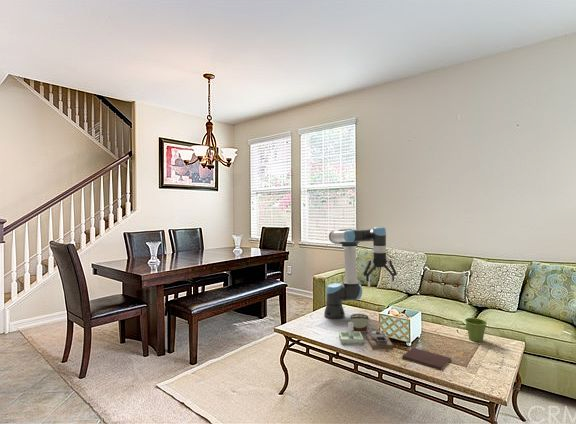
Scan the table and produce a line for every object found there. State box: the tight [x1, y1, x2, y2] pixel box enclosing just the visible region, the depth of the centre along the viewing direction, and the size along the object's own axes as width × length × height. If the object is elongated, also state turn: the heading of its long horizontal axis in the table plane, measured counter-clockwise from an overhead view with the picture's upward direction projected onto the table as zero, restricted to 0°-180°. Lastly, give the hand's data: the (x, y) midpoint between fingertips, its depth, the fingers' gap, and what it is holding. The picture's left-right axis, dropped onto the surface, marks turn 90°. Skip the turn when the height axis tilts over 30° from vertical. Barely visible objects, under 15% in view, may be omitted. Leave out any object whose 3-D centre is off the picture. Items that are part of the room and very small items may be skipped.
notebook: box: [401, 347, 452, 371], centre depth 175 cm, size 15×20×2 cm
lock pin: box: [347, 320, 354, 339], centre depth 202 cm, size 3×3×10 cm
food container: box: [349, 313, 370, 333], centre depth 218 cm, size 12×6×10 cm, turn 84°
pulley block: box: [365, 330, 394, 350], centre depth 197 cm, size 16×12×5 cm
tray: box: [338, 331, 365, 345], centre depth 202 cm, size 12×13×3 cm
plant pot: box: [464, 317, 488, 343], centre depth 199 cm, size 12×12×11 cm
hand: (380, 286), depth 205 cm, fingers open, 13 cm apart
